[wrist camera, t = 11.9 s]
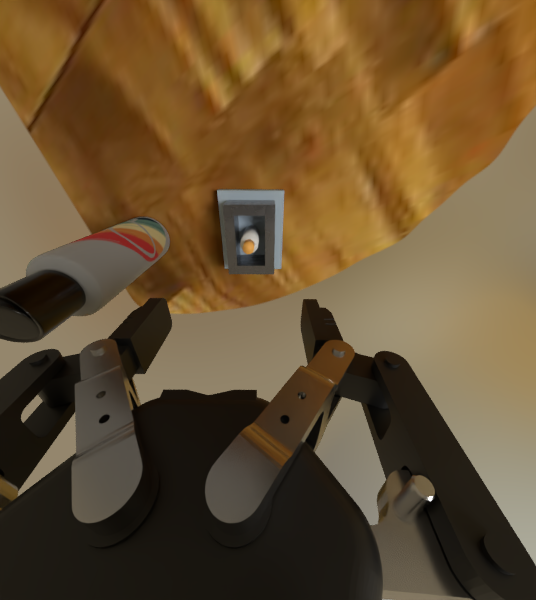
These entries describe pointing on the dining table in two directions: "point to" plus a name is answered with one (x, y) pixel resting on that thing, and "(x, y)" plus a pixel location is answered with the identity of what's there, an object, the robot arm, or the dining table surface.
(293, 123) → the dining table surface
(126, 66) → the dining table surface
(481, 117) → the dining table surface
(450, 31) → the dining table surface
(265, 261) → the link
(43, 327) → the lotion bottle
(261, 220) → the grey base with peg
